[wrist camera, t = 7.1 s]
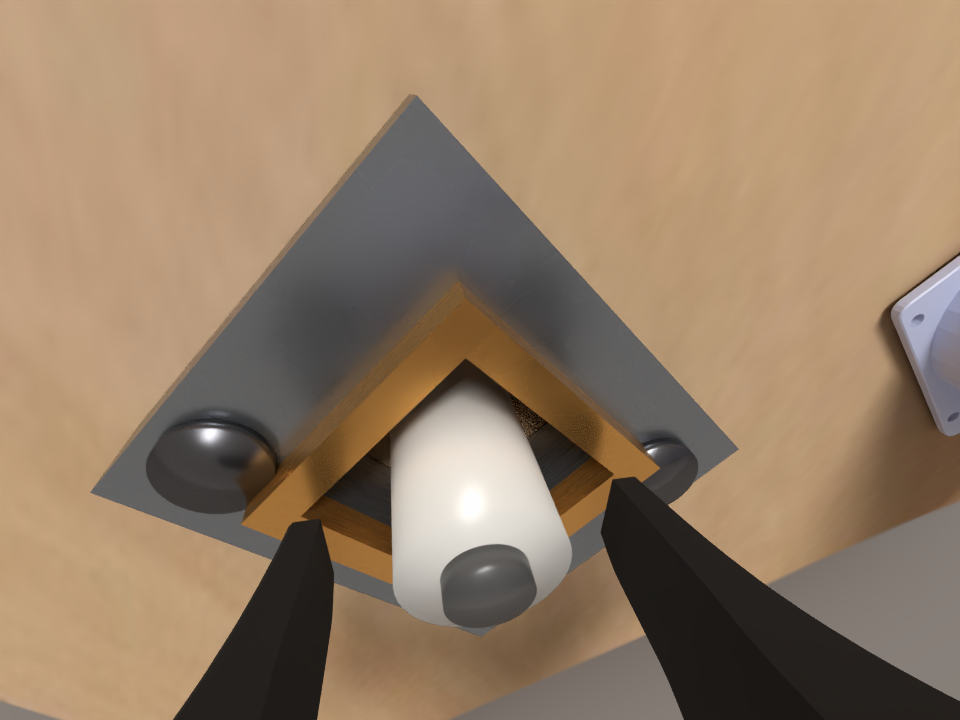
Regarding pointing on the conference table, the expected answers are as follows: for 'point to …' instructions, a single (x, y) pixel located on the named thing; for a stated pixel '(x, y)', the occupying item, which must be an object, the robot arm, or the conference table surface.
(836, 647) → the robot arm
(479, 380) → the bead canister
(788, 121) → the conference table surface
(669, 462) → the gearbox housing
